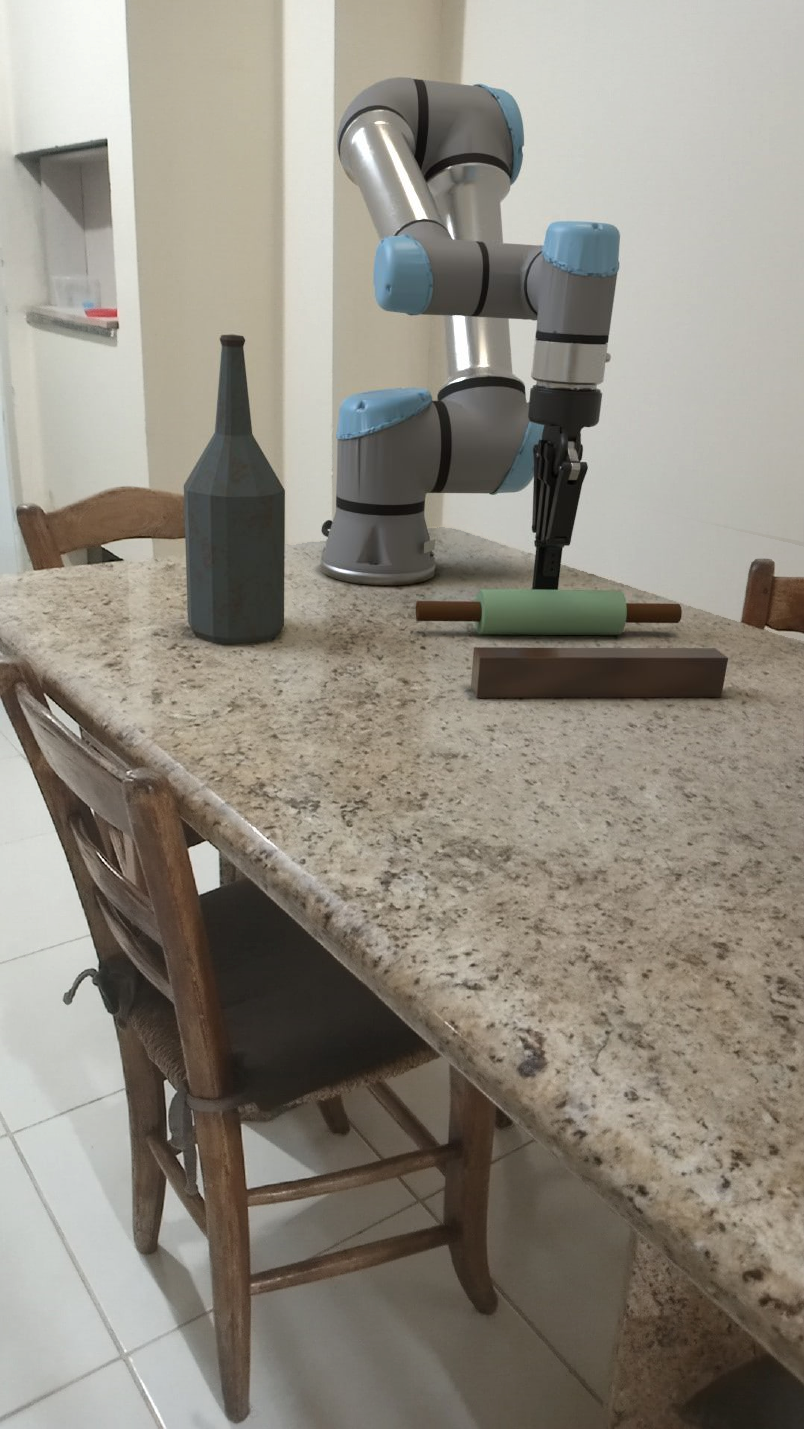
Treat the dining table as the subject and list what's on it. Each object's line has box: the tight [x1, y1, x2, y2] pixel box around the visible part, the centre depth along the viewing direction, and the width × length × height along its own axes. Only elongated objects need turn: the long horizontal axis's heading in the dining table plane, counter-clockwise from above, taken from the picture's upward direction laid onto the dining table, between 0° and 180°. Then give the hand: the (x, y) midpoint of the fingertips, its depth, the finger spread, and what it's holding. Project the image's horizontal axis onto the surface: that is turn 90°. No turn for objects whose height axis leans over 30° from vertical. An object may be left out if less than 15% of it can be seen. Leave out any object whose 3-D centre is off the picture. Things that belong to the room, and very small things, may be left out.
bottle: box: [183, 334, 286, 646], centre depth 104 cm, size 10×10×30 cm
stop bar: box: [470, 646, 729, 699], centre depth 97 cm, size 24×3×4 cm, turn 98°
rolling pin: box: [415, 588, 683, 636], centre depth 114 cm, size 30×5×5 cm
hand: (543, 601), depth 116 cm, fingers closed
